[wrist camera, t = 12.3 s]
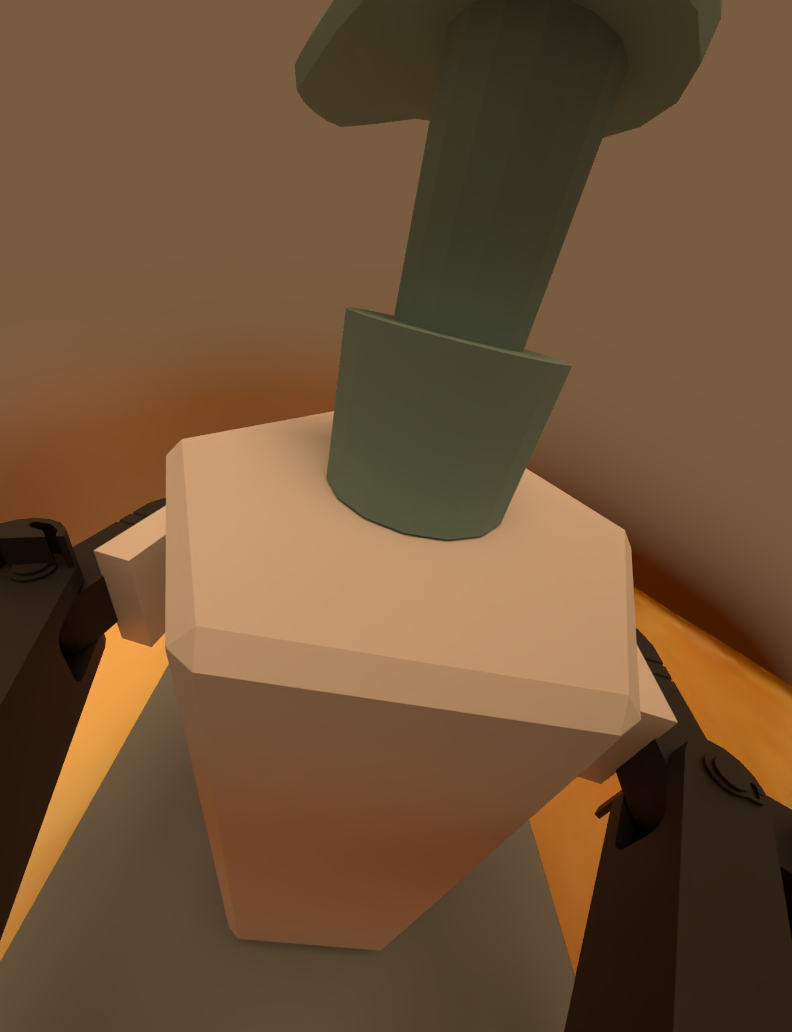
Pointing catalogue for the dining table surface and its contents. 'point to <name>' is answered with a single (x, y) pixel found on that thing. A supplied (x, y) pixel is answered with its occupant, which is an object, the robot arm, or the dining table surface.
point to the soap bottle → (418, 496)
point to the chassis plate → (250, 963)
